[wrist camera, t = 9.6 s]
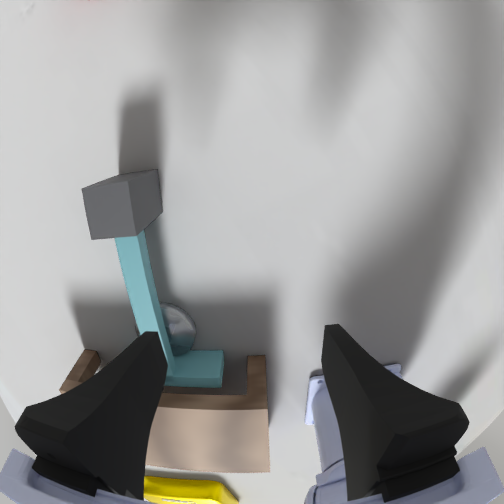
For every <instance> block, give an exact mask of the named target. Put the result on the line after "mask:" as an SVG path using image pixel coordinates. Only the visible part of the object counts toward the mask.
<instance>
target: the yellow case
mask: <svg viewBox="0 0 504 504" xmlns="http://www.w3.org/2000/svg"><path fill="white" fill-rule="evenodd" d="M144 498H145V499H147V500H148V501H150V502H152V503H158V504H239V502H238V500H237V499H236V498H235V497H234V496H233V495H232V494H231V493H230V492H229V490H228V489H227V488H226V487H225V486H224V485H223V484H222V483H220V482H217V481H210V480H187V479H172V478H162V477H153V476H144Z"/></svg>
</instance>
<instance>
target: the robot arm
mask: <svg viewBox="0 0 504 504" xmlns="http://www.w3.org/2000/svg"><path fill="white" fill-rule="evenodd" d="M321 362H322V368H323V373H324V375H322V376H314V377H311V378H310V380H309V388H308V397H307V406H306V414H305V424H307V425H311V424H314V426H315V432H316V438H317V444H318V450H319V456H320V462H321V468H322V473H321V474H318V475H316V481H317V485H314V486H312V487H311V488H310V489H309V491H308V494H307V496H306V498H305V502H304V504H488V503H489V502H491V501H492V500H493V499H495V498H496V497H498V496H499V495H500V494H502V493H503V492H504V488H503V485H502V483H501V480H500V478H499V476H498V474H497V471H496V469H495V467H494V465H493V463H492V461H491V459H490V457H489V455H488V453H487V451H486V449H485V447H482V448H480V449H478V450H476V451H474V452H472V453H470V454H468V455H466V456H464V457H462V458H461V459H459V460H458V461H457V462H456V460H455V457H454V456H455V455H456V454H457V451H456V449H455V447H454V446H455V444H456V443H457V442H458V441H459V439H460V438H461V437H462V436H463V434H464V433H465V432H466V430H467V428H468V425H469V420H468V418H467V416H466V414H465V412H464V411H463V409H462V407H461V406H460V404H459V403H456V402H453V401H450V400H447V399H443V398H440V397H438V396H435V395H433V394H430V393H428V392H426V391H423V390H421V389H419V388H417V387H415V386H413V385H412V384H410V383H408V382H406V381H404V380H403V378H402V376H401V374H400V370H401V366H400V364H393V365H388V366H382V365H381V364H380V363H379V362H377V361H376V360H375V359H374V358H373V357H372V356H370V355H369V354H368V353H367V352H366V351H365V350H364V349H363V348H362V347H361V346H360V345H359V344H358V343H357V342H356V341H355V340H354V339H353V338H352V337H351V336H350V335H349V334H348V333H347V332H346V331H345V330H344V329H343V328H342V327H341V326H340V325H339V324H334V325H325V330H324V340H323V349H322V358H321ZM167 369H168V363H167V360H166V357H165V354H164V351H163V347H162V344H161V341H160V337H159V334H158V331H145V332H144V333H143V334H141V335H140V336H139V337H138V338H137V339H136V340H135V341H134V342H133V343H132V344H131V345H130V346H128V347H127V348H126V349H125V350H124V351H123V352H122V353H121V354H120V355H119V356H117V357H116V358H115V359H114V360H113V361H112V362H110V363H109V364H108V365H107V366H105V367H104V368H103V369H102V370H101V371H99V372H98V373H97V374H95V375H94V376H92V377H91V378H89V379H88V380H86V381H85V382H83V383H82V384H80V385H78V386H76V387H74V388H73V389H71V390H69V391H67V392H65V393H63V394H61V395H59V396H57V397H54V398H52V399H49V400H47V401H44V402H41V403H38V404H34V405H31V406H27V407H26V408H25V410H24V412H23V413H22V415H21V417H20V418H19V420H18V422H17V423H16V425H15V430H16V432H17V434H18V436H19V437H20V438H21V439H22V440H23V441H24V442H25V443H26V444H27V446H28V447H29V448H30V449H31V450H33V452H34V453H35V454H36V455H37V457H36V460H34V459H33V458H31V457H30V456H28V455H26V454H24V453H22V452H20V451H18V450H16V449H12V451H11V453H10V455H9V457H8V459H7V461H6V463H5V465H4V467H3V469H2V471H1V473H0V492H2V493H3V494H4V495H6V496H7V497H9V498H10V499H12V500H13V501H14V502H16V503H17V504H158V503H152V502H147V501H144V475H145V463H146V455H147V447H148V441H149V435H150V430H151V426H152V422H153V419H154V416H155V413H156V410H157V407H158V404H159V401H160V397H161V394H162V391H163V388H164V385H165V380H166V375H167ZM319 380H320V381H319Z"/></svg>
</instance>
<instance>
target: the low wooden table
mask: <svg viewBox="0 0 504 504" xmlns="http://www.w3.org/2000/svg"><path fill="white" fill-rule="evenodd" d="M100 363H101V361H100V358H99V356H98V354H97V352H96V351H92V350H84V351H83V353H82V354H81V356H80V357H79V359H78V360H77V362H76V364H75V365H74V367H73V368H72V370H71V371H70V373H69V375H68V376H67V378H66V380H65V381H64V383H63V384H62V386H61V388H60V389H59V391H60V392H61V394H63V393H65V392H67V391H69V390H71V389H73V388H74V387H76V386H78V385H80V384H82V383H83V382H85V381H86V380H88V379H89V378H91V377H92V376H94V374H95V372H96V370H97V369H98V367H99V365H100ZM145 465H151V466H157V467H164V468H172V469H180V470H190V471H203V472H222V473H262V472H270V455H269V429H268V405H267V383H266V361H265V355H257V356H248V367H247V395H195V394H174V393H162V394H161V397H160V401H159V404H158V407H157V410H156V413H155V416H154V419H153V422H152V426H151V430H150V435H149V441H148V447H147V455H146V463H145Z"/></svg>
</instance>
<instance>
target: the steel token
mask: <svg viewBox="0 0 504 504" xmlns="http://www.w3.org/2000/svg"><path fill="white" fill-rule="evenodd" d="M159 305H160V309H161V313H162V317H163V321H164V325H165V328H166V332H167V336H168V340H169V343H170V347H171V350H172V354H173V357H174V356H180V355H183V354H185V353H187V352H188V351H189V350H190V349H191V347H192V346H193V343H194V339H195V335H196V328H195V324H194V322H193V320H192V318H191V317H190V316H189V315H188V314H187V313H186V312H185V311H184V310H183V309H181V308H179V307H178V306H175V305H173V304H170V303H164V302H159ZM136 332H137V335H138V337H139V336H140V332H139V329H138V326H137V323H136Z"/></svg>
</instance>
